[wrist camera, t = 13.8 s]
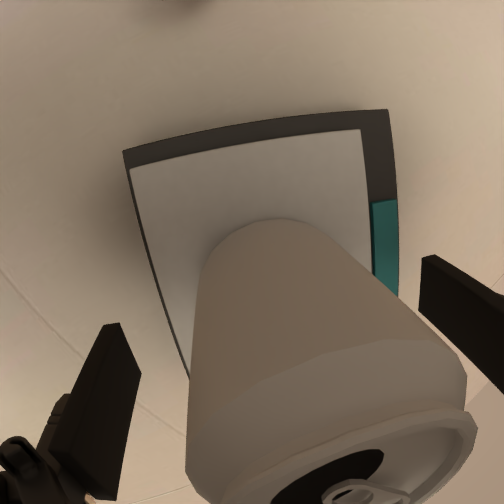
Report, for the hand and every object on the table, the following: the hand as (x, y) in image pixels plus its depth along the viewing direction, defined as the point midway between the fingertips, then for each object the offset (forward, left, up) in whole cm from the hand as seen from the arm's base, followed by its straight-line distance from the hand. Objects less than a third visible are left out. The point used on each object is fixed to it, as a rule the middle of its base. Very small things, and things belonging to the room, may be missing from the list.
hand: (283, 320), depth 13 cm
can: (0, 0, -4) cm, 4 cm away
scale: (0, +1, -8) cm, 8 cm away
